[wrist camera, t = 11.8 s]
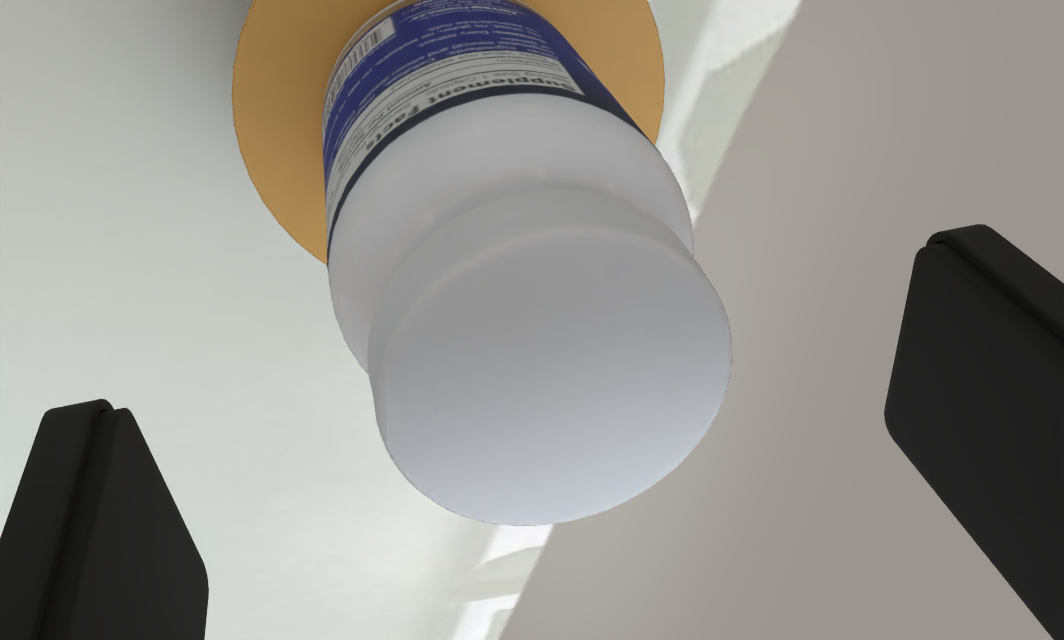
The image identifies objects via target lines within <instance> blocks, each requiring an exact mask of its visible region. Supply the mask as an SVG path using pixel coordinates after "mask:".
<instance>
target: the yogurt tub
mask: <svg viewBox="0 0 1064 640" xmlns="http://www.w3.org/2000/svg"><path fill="white" fill-rule="evenodd" d="M396 1H398V0H253V1H252V3H251V5H250V8H249V11H248V13H247V16H246V19H245V22H244V24H243V27H242V30H241V33H240V37H239V42H238V47H237V52H236V57H235V61H234V66H233V83H232V105H233V117H234V126H235V131H236V135H237V139H238V144H239V148H240V152H241V155H242V158H243V160H244V163H245V166H246V168H247V171H248V173H249V176H250V178H251V180H252V182H253V184H254V186H255V188H256V189H257V191H258V193H259V195H260V197H261V199H262V201H263V202H264V204H265V205H266V206H267V208H268V209H269V210H270V212H271V213H272V215H273V216H274V217H275V219H276V220H277V221H278V223H279V224H280V225H281V226H282V227H283V228H284V229H285V230H286V231H287V232H288V233H289V234H290V235H291V236H292V238H293V239H294V240H295V241H296V242H297V243H298V244H300V245H301V246H302V247H303V248H305V249H306V250H307V251H308V252H310V253H311V254H312V255H313V256H314V257H316V258H317V259H318V260H320V261H322V262H323V263H325V264H326V265H327V236H326V231H327V225H326V204H325V182H324V163H323V146H322V112H323V104H324V97H325V91H326V87H327V84H328V81H329V78H330V75H331V72H332V70H333V68H334V65H335V63H336V61H337V59H338V57H339V55H340V53H341V52H342V50H343V49H344V47H345V46H346V44H347V43H348V42H349V40H350V39H351V38H352V36H353V35H354V34H355V33H356V32H357V31H358V30H359V28H360V27H361V26H362V25H363V24H364V23H366V22H367V21H368V20H369V19H370V18H372V17H373V16H374V15H376V14H377V13H378V12H380V11H381V10H383V9H384V8H386V7H387V6H389V5H391V4H393V3H394V2H396ZM519 1H521V2H523V3H525V4H527V5H529V6H530V7H532V8H534V9H535V10H536V11H538V12H539V13H540V14H542V15H543V16H544V17H546V18H547V19H548V20H549V21H550V22H551V23H552V24H553V25H554V26H555V27H556V28H557V29H558V31H559V32H560V33H561V34H562V35H563V36H564V37H565V38H566V40H567V41H568V42H569V43H570V45H571V46H572V47H573V48H574V49H575V51H576V52H577V53H578V54H579V55H580V56H581V58H582V59H583V60H584V61H585V63H586V64H587V65H588V66H589V68H590V69H591V70H592V71H593V72H594V74H595V75H596V76H597V77H598V79H599V80H600V81H601V82H602V83H603V84H604V86H605V87H606V88H607V89H608V90H609V92H610V93H611V94H612V95H613V96H614V98H615V99H616V100H617V101H618V103H619V104H620V105H621V106H622V107H623V109H624V110H625V111H626V112H627V113H628V115H629V116H630V117H631V118H632V119H633V120H634V122H635V123H636V124H637V125H638V127H639V128H640V129H641V130H642V131H643V133H644V134H645V135H646V136H647V137H648V139H649V140H650V141H651V142H652V143H653V144H654V146H655V143H656V140H657V137H658V133H659V128H660V122H661V117H662V112H663V103H664V87H665V78H664V64H663V53H662V49H661V44H660V39H659V34H658V29H657V26H656V23H655V20H654V18H653V15H652V12H651V9H650V6H649V3H648V1H647V0H519Z"/></svg>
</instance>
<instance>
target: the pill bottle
mask: <svg viewBox="0 0 1064 640" xmlns="http://www.w3.org/2000/svg"><path fill="white" fill-rule="evenodd" d="M322 146H323V163H324V182H325V204H326V225H327V231H326V236H327V268H328V274H329V284H330V291H331V297H332V302H333V307H334V312H335V316H336V319H337V322H338V324H339V327H340V330H341V332H342V334H343V337H344V339H345V341H346V343H347V345H348V347H349V349H350V350H351V352H352V353H353V355H354V356H355V358H356V360H357V361H358V363H359V364H360V365H361V367H362V368H363V369H364V370H365V372H366V373H367V374H368V375H369V379H370V383H371V387H372V392H373V397H374V404H375V412H376V419H377V423H378V427H379V430H380V434H381V437H382V439H383V442H384V445H385V447H386V449H387V451H388V453H389V455H390V457H391V459H392V460H393V462H394V463H395V465H396V466H397V468H398V469H399V470H400V472H401V473H402V474H403V475H404V477H405V478H406V479H407V480H408V481H409V482H410V483H411V484H412V485H413V486H414V487H415V488H416V489H417V490H419V491H420V492H421V493H423V494H424V495H425V496H427V497H428V498H430V499H431V500H433V501H434V502H436V503H437V504H439V505H441V506H442V507H444V508H446V509H447V510H449V511H451V512H454V513H457V514H459V515H462V516H466V517H469V518H473V519H476V520H479V521H483V522H488V523H493V524H501V525H513V526H537V525H547V524H557V523H563V522H569V521H573V520H577V519H580V518H585V517H588V516H591V515H595V514H597V513H600V512H603V511H605V510H607V509H610V508H612V507H615V506H617V505H620V504H622V503H624V502H625V501H628V500H629V499H631V498H633V497H635V496H636V495H638V494H640V493H641V492H643V491H645V490H646V489H648V488H649V487H651V486H652V485H654V484H655V483H657V482H658V481H660V480H661V479H663V478H664V477H665V476H666V475H668V474H669V473H670V472H671V471H672V470H673V469H675V468H676V467H677V466H678V465H679V464H680V463H681V462H682V461H683V460H684V458H686V456H687V455H689V454H690V452H691V451H692V450H693V449H694V447H695V446H696V445H697V444H698V443H699V442H700V440H701V439H702V437H703V436H704V435H705V433H706V432H707V430H708V429H709V427H710V425H711V424H712V422H713V420H714V418H715V416H716V414H717V412H718V410H719V409H720V406H721V404H722V401H723V399H724V396H725V393H726V391H727V387H728V383H729V379H730V374H731V365H732V340H731V332H730V326H729V321H728V317H727V315H726V312H725V309H724V306H723V304H722V302H721V300H720V298H719V296H718V293H717V291H716V290H715V288H714V287H713V285H712V284H711V282H710V281H709V279H708V278H707V276H706V275H705V273H704V272H703V270H702V269H701V267H700V266H699V264H698V263H697V262H696V260H695V259H694V240H693V231H692V224H691V219H690V215H689V211H688V207H687V204H686V201H685V198H684V196H683V193H682V190H681V188H680V185H679V184H678V182H677V180H676V178H675V176H674V174H673V172H672V171H671V169H670V167H669V165H668V164H667V163H666V161H665V160H664V159H663V157H662V155H661V153H660V152H659V151H658V149H657V148H656V147H655V146H654V144H653V143H652V142H651V141H650V140H649V139H648V137H647V136H646V135H645V134H644V133H643V131H642V130H641V129H640V128H639V127H638V125H637V124H636V123H635V122H634V120H633V119H632V118H631V117H630V116H629V115H628V113H627V112H626V111H625V110H624V109H623V107H622V106H621V105H620V104H619V103H618V101H617V100H616V99H615V98H614V96H613V95H612V94H611V93H610V92H609V90H608V89H607V88H606V87H605V86H604V84H603V83H602V82H601V81H600V80H599V79H598V77H597V76H596V75H595V74H594V72H593V71H592V70H591V69H590V68H589V66H588V65H587V64H586V63H585V61H584V60H583V59H582V58H581V56H580V55H579V54H578V53H577V52H576V51H575V49H574V48H573V47H572V46H571V45H570V43H569V42H568V41H567V40H566V38H565V37H564V36H563V35H562V34H561V33H560V32H559V31H558V29H557V28H556V27H555V26H554V25H553V24H552V23H551V22H550V21H549V20H548V19H547V18H546V17H544V16H543V15H542V14H540V13H539V12H538V11H536V10H535V9H534V8H532V7H530V6H529V5H527V4H525V3H523V2H521V1H519V0H398V1H396V2H394V3H393V4H391V5H389V6H387V7H386V8H384V9H383V10H381V11H380V12H378V13H377V14H376V15H374V16H373V17H372V18H370V19H369V20H368V21H367V22H366V23H364V24H363V25H362V26H361V27H360V28H359V30H358V31H357V32H356V33H355V34H354V35H353V36H352V38H351V39H350V40H349V42H348V43H347V44H346V46H345V47H344V49H343V50H342V52H341V53H340V55H339V57H338V59H337V61H336V63H335V65H334V68H333V70H332V72H331V75H330V78H329V81H328V84H327V87H326V91H325V97H324V104H323V112H322Z"/></svg>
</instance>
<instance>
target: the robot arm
mask: <svg viewBox="0 0 1064 640" xmlns="http://www.w3.org/2000/svg"><path fill="white" fill-rule="evenodd" d="M884 416H885V422H886V426H887V429H888V431H889V434H890V435H891V436H892V438H893V440H894V441H895V442H896V444H897V445H898V446H899V447H900V449H901V450H902V451H903V452H904V454H905V455H906V456H907V457H908V459H909V460H910V461H911V462H912V464H913V465H914V466H915V467H916V468H917V470H918V471H919V472H920V474H921V475H922V476H923V477H924V478H925V480H926V481H927V482H928V483H929V485H930V486H931V487H932V488H933V490H934V491H935V492H936V494H937V495H938V496H939V497H940V499H941V500H942V501H943V502H944V504H945V505H946V506H947V507H948V509H949V510H950V511H951V512H952V514H953V515H954V516H955V517H956V518H957V520H958V521H959V522H960V523H961V525H962V526H963V527H964V528H965V530H966V531H967V532H968V533H969V535H970V536H971V537H972V538H973V540H974V541H975V542H976V543H977V545H978V546H979V547H980V548H981V550H982V551H983V552H984V553H985V554H986V556H987V557H988V558H989V559H990V561H991V562H992V563H993V565H994V566H995V567H996V568H997V569H998V571H999V572H1000V573H1001V575H1002V576H1003V577H1004V578H1005V580H1006V581H1007V582H1008V583H1009V585H1010V586H1011V587H1012V588H1013V589H1014V591H1015V592H1016V593H1017V595H1018V596H1019V597H1020V598H1021V600H1022V601H1023V602H1024V603H1025V605H1026V606H1027V607H1028V608H1029V609H1030V611H1031V612H1032V613H1033V614H1034V616H1035V617H1036V618H1037V619H1038V621H1039V622H1040V623H1041V624H1042V626H1043V627H1044V628H1045V629H1046V631H1047V632H1048V633H1049V634H1050V636H1051V637H1052V638H1053V639H1054V640H1064V283H1062V282H1061V281H1060V280H1058V279H1057V278H1056V277H1054V276H1053V275H1052V274H1050V273H1049V272H1048V271H1047V270H1045V269H1044V268H1043V267H1041V266H1040V265H1039V264H1038V263H1036V262H1035V261H1033V260H1032V259H1031V258H1030V257H1028V256H1027V255H1026V254H1024V253H1023V252H1022V251H1021V250H1019V249H1018V248H1017V247H1015V246H1014V245H1013V244H1011V243H1010V242H1009V241H1008V240H1006V239H1005V238H1004V237H1002V236H1001V235H1000V234H998V233H997V232H996V231H994V230H993V229H992V228H990V227H988V226H986V225H980V224H977V225H971V226H967V227H961V228H957V229H951V230H946V231H941V232H937V233H935V234H933V235H932V236H931V237H930V238H929V240H928V241H927V244H926V247H923V248H921V249H920V250H919V251H918V252H917V254H916V257H915V261H914V265H913V270H912V275H911V280H910V285H909V290H908V295H907V300H906V305H905V310H904V315H903V320H902V325H901V330H900V335H899V340H898V345H897V350H896V355H895V360H894V365H893V369H892V375H891V379H890V385H889V390H888V395H887V399H886V405H885V411H884ZM208 594H209V588H208V578H207V573H206V569H205V566H204V563H203V560H202V558H201V556H200V554H199V552H198V550H197V548H196V546H195V544H194V542H193V540H192V537H191V535H190V533H189V531H188V529H187V527H186V525H185V523H184V521H183V519H182V516H181V514H180V512H179V510H178V508H177V506H176V504H175V502H174V500H173V498H172V496H171V493H170V491H169V489H168V487H167V485H166V483H165V481H164V479H163V477H162V475H161V472H160V470H159V468H158V466H157V464H156V462H155V460H154V458H153V456H152V454H151V452H150V449H149V447H148V445H147V443H146V441H145V439H144V437H143V435H142V433H141V431H140V429H139V426H138V424H137V422H136V420H135V418H134V416H133V415H132V413H131V411H130V410H128V409H127V408H121V409H116V410H114V408H113V407H112V405H111V404H110V403H109V402H108V401H107V400H104V399H98V400H93V401H88V402H83V403H78V404H73V405H68V406H63V407H58V408H53V409H50V410H48V411H46V412H45V414H44V416H43V418H42V420H41V423H40V426H39V429H38V432H37V434H36V437H35V440H34V443H33V446H32V449H31V452H30V455H29V457H28V460H27V463H26V466H25V469H24V472H23V475H22V477H21V480H20V483H19V486H18V489H17V492H16V495H15V498H14V500H13V503H12V506H11V509H10V512H9V515H8V518H7V521H6V523H5V526H4V529H3V532H2V535H1V538H0V640H204V638H205V627H206V617H207V606H208Z"/></svg>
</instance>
